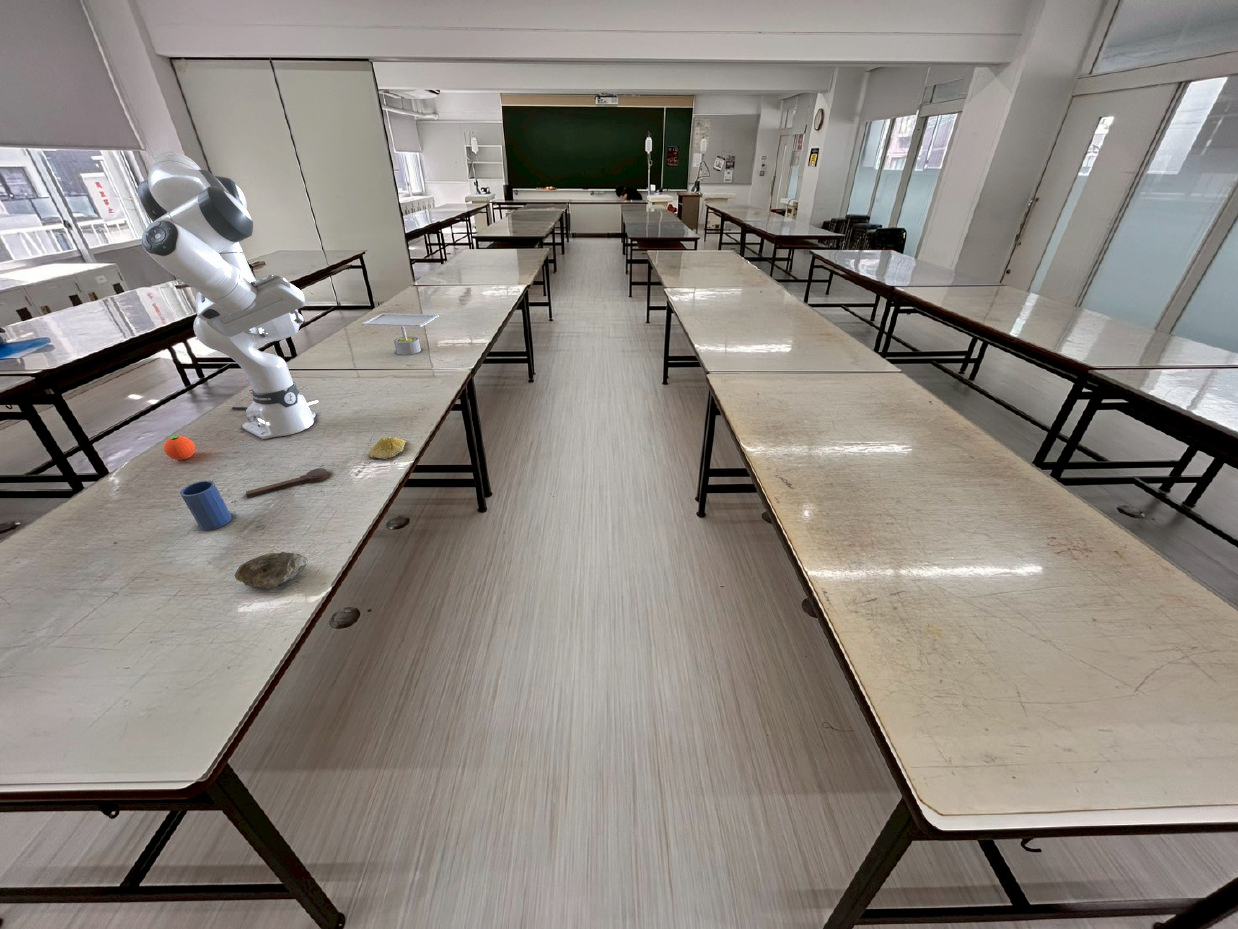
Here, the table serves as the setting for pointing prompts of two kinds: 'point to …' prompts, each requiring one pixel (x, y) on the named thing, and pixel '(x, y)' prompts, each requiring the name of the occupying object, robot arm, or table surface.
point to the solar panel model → (402, 320)
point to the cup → (206, 505)
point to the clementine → (179, 447)
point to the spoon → (291, 482)
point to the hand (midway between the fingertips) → (283, 328)
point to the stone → (271, 569)
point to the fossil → (387, 448)
